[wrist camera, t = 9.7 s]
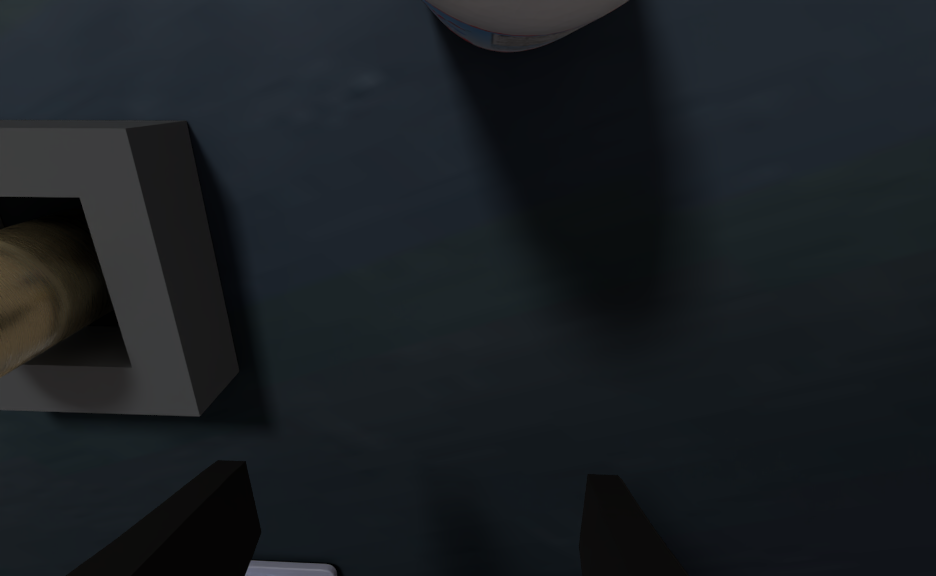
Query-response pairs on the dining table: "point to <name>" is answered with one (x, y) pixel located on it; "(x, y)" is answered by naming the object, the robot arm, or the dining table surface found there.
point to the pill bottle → (518, 20)
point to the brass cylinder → (47, 285)
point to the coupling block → (126, 269)
